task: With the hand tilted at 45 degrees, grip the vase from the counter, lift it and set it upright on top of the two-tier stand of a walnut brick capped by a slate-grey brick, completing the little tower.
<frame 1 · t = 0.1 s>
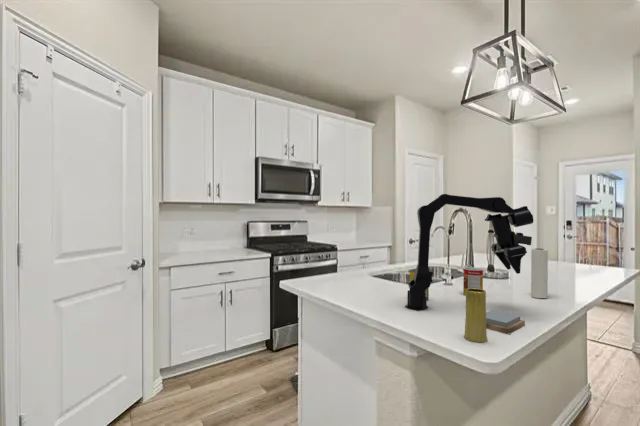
hand: (513, 271, 125), 15 cm above the countertop, tool pointing down, fingers open, 9 cm apart
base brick: (498, 325, 112), on the countertop
vase: (475, 339, 99), on the countertop
crayon box: (419, 299, 144), on the countertop
grey cylinder: (539, 297, 149), on the countertop
canned food: (472, 295, 152), on the countertop
top brick: (498, 318, 112), on the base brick, point 2 cm above the countertop
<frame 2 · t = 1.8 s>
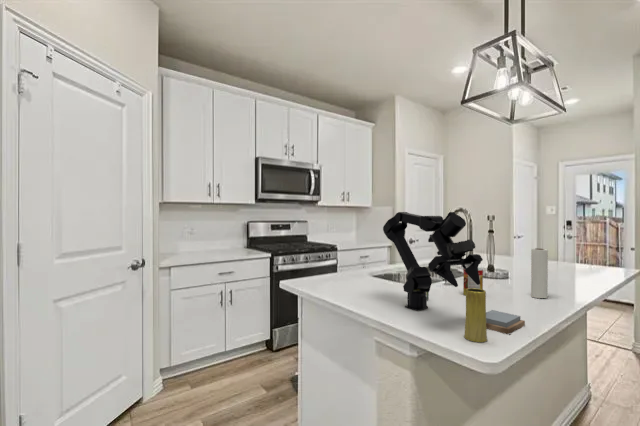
hand: (468, 285, 108), 14 cm above the countertop, tool tilted 40°, fingers open, 9 cm apart
nothing on the countertop moved.
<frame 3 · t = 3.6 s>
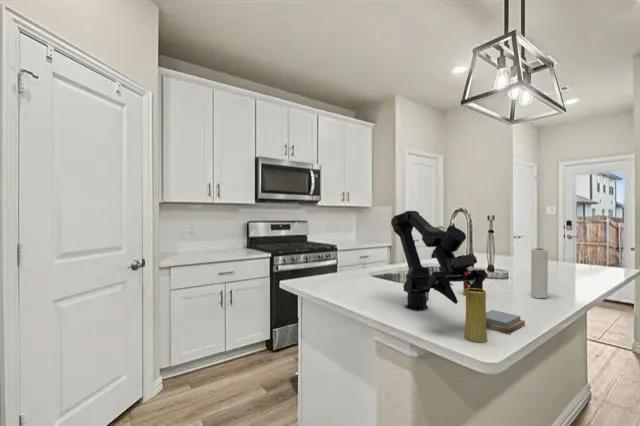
hand: (470, 302, 102), 10 cm above the countertop, tool tilted 45°, fingers open, 9 cm apart
nothing on the countertop moved.
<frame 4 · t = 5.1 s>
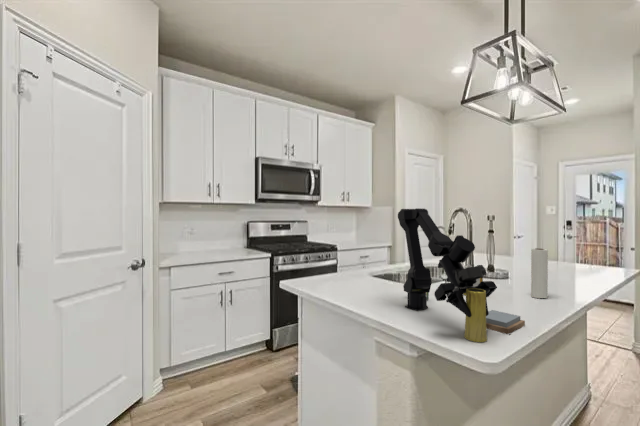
hand: (478, 315, 98), 7 cm above the countertop, tool tilted 45°, fingers closed on vase, 5 cm apart
vase: (475, 339, 99), on the countertop, touching gripper
everything else where it was.
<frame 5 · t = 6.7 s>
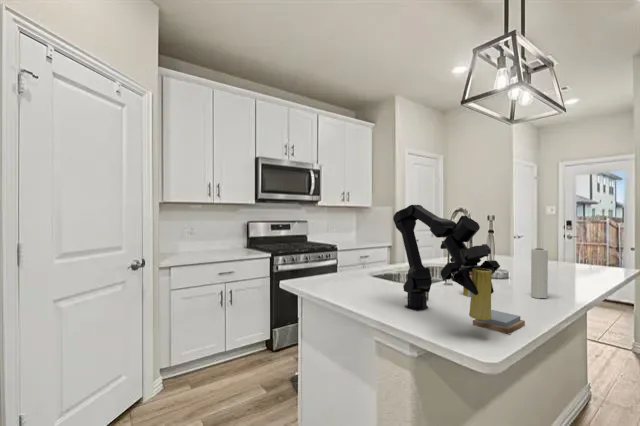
hand: (484, 293, 99), 13 cm above the countertop, tool tilted 45°, fingers closed on vase, 5 cm apart
vase: (480, 317, 101), point 6 cm above the countertop, touching gripper
everything else where it was.
when the fingers open (11 cm above the countertop, at t = 8.8 s): vase stays where it is, resting on top brick.
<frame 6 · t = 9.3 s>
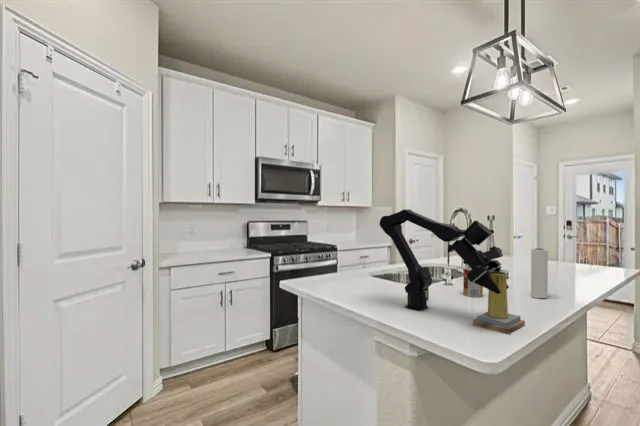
hand: (503, 290, 111), 12 cm above the countertop, tool tilted 45°, fingers open, 9 cm apart
vase: (497, 316, 112), point 3 cm above the countertop, touching top brick
everything else where it was.
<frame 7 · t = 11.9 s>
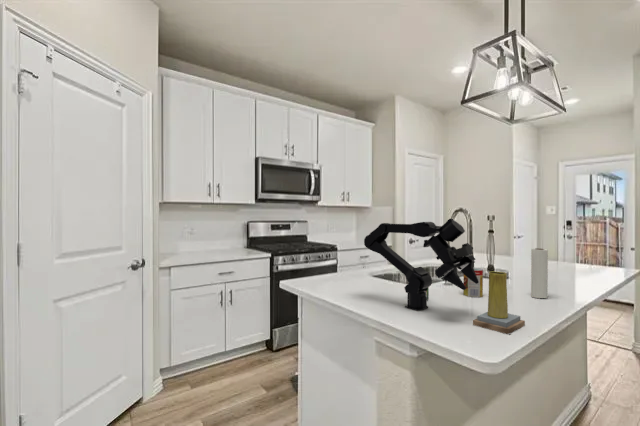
hand: (471, 286, 117), 12 cm above the countertop, tool tilted 40°, fingers open, 9 cm apart
nothing on the countertop moved.
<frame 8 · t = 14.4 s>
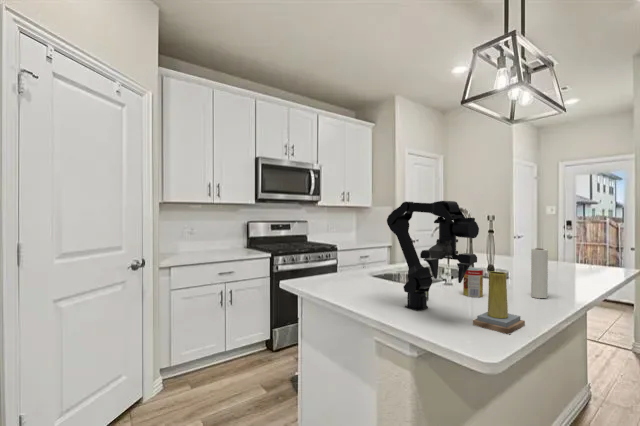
hand: (447, 280, 119), 13 cm above the countertop, tool pointing down, fingers open, 9 cm apart
nothing on the countertop moved.
at the end: vase 0.4 cm off-centre on the top brick, point 2.8 cm above the top brick's base; vase tilted 0°; the gripper is holding nothing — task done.
